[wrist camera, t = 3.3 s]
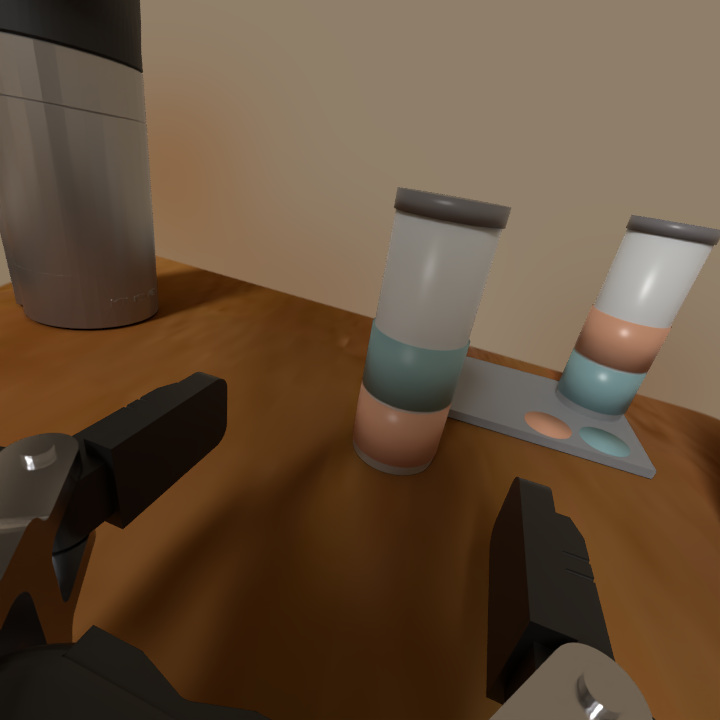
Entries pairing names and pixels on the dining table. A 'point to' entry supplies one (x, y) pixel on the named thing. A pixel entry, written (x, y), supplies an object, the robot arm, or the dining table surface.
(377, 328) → the slim tube
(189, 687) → the dining table surface
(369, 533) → the dining table surface
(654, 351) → the twin tube
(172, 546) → the dining table surface
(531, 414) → the slate card
